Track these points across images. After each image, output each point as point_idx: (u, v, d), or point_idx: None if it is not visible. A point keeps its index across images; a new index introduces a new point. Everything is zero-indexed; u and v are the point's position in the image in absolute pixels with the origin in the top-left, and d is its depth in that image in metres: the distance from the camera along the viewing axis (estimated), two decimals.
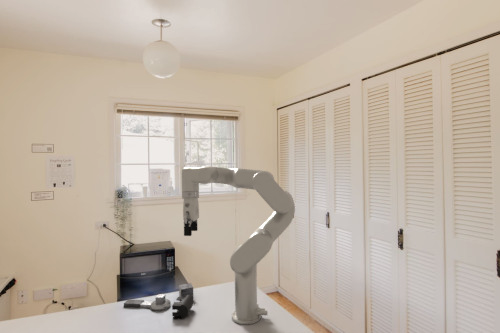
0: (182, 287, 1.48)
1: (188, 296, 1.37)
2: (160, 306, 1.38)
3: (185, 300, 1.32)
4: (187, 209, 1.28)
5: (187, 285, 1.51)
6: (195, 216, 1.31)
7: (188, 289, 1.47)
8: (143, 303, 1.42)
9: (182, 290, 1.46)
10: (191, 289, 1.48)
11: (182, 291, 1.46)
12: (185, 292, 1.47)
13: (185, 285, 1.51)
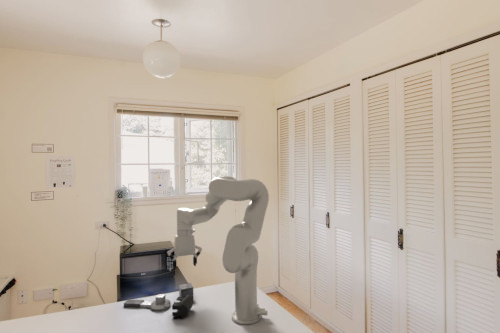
0: (182, 287, 1.48)
1: (188, 296, 1.37)
2: (160, 306, 1.38)
3: (185, 300, 1.32)
4: None
5: (187, 285, 1.51)
6: None
7: (188, 289, 1.47)
8: (143, 303, 1.42)
9: (182, 290, 1.46)
10: (191, 289, 1.48)
11: (182, 291, 1.46)
12: (185, 292, 1.47)
13: (185, 285, 1.51)
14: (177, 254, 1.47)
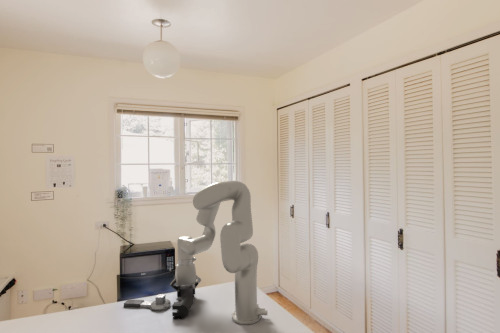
0: (182, 287, 1.48)
1: (188, 296, 1.37)
2: (160, 306, 1.38)
3: (185, 300, 1.32)
4: None
5: (187, 285, 1.51)
6: None
7: (188, 289, 1.47)
8: (143, 303, 1.42)
9: (182, 290, 1.46)
10: (191, 289, 1.48)
11: (182, 291, 1.46)
12: (185, 292, 1.47)
13: (185, 285, 1.51)
14: (178, 284, 1.46)
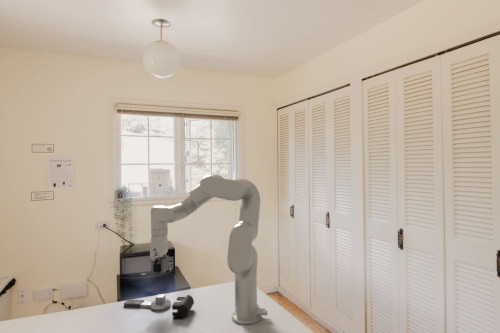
0: (160, 259, 1.39)
1: (188, 296, 1.37)
2: (160, 306, 1.38)
3: (185, 300, 1.32)
4: None
5: None
6: None
7: (166, 259, 1.41)
8: (143, 303, 1.42)
9: (163, 261, 1.39)
10: (167, 258, 1.43)
11: (163, 262, 1.39)
12: (165, 262, 1.40)
13: (157, 258, 1.41)
14: (160, 255, 1.37)
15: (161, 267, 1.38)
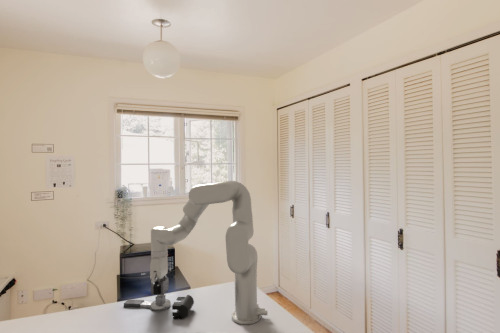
0: None
1: (188, 296, 1.37)
2: (160, 306, 1.38)
3: (185, 300, 1.32)
4: None
5: None
6: None
7: (166, 280, 1.41)
8: (143, 303, 1.42)
9: (163, 282, 1.38)
10: (167, 279, 1.43)
11: (163, 284, 1.38)
12: (165, 284, 1.40)
13: None
14: (160, 277, 1.37)
15: (161, 289, 1.38)
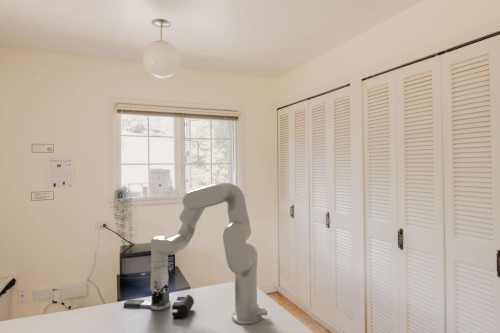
0: (160, 292, 1.39)
1: (188, 296, 1.37)
2: (160, 306, 1.38)
3: (185, 300, 1.32)
4: None
5: (160, 289, 1.42)
6: None
7: (167, 291, 1.41)
8: (143, 303, 1.42)
9: (164, 294, 1.38)
10: (168, 290, 1.43)
11: (164, 295, 1.38)
12: (165, 295, 1.40)
13: None
14: (160, 287, 1.37)
15: (162, 300, 1.38)
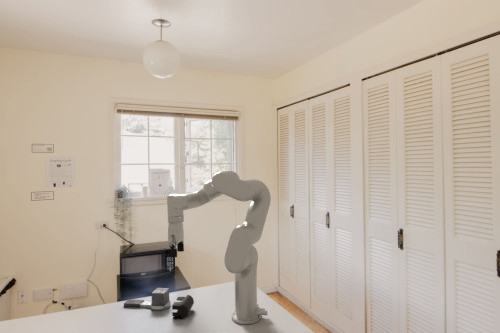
0: (160, 292, 1.39)
1: (188, 296, 1.37)
2: (160, 306, 1.38)
3: (185, 300, 1.32)
4: None
5: (160, 289, 1.42)
6: None
7: (167, 291, 1.41)
8: (143, 303, 1.42)
9: (164, 294, 1.38)
10: (168, 290, 1.43)
11: (164, 295, 1.38)
12: (165, 295, 1.40)
13: (158, 290, 1.41)
14: (177, 241, 1.42)
15: (162, 300, 1.38)
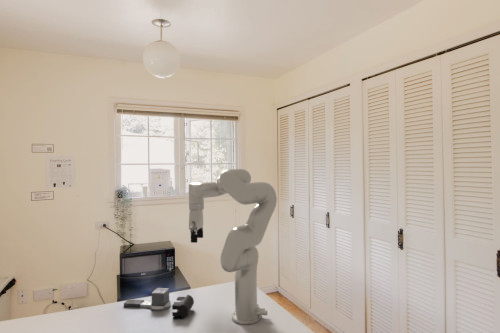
0: (160, 292, 1.39)
1: (188, 296, 1.37)
2: (160, 306, 1.38)
3: (185, 300, 1.32)
4: None
5: (160, 289, 1.42)
6: None
7: (167, 291, 1.41)
8: (143, 303, 1.42)
9: (164, 294, 1.38)
10: (168, 290, 1.43)
11: (164, 295, 1.38)
12: (165, 295, 1.40)
13: (158, 290, 1.41)
14: (198, 227, 1.49)
15: (162, 300, 1.38)
